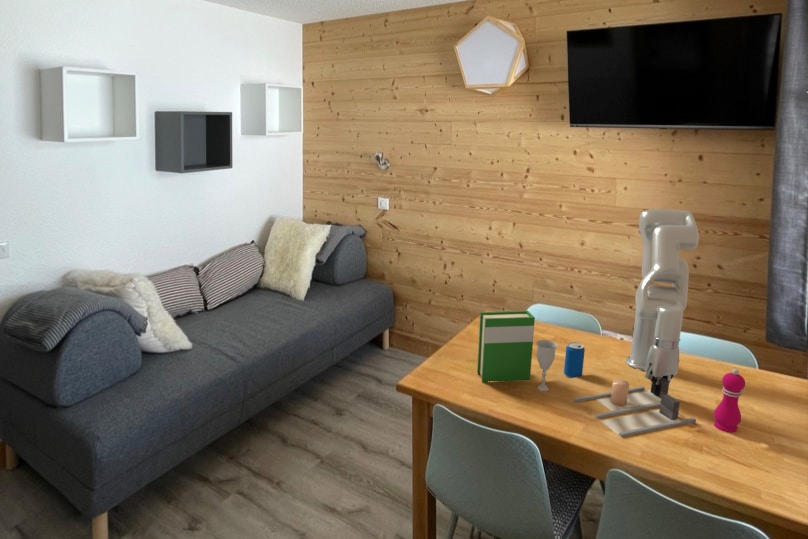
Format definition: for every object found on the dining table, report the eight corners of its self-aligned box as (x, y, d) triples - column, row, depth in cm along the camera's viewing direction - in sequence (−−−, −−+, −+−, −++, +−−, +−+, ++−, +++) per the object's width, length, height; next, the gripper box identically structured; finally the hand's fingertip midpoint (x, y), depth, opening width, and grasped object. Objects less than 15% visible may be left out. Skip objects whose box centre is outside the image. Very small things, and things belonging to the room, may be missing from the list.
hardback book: (482, 382, 198) (485, 319, 192) (477, 373, 205) (480, 312, 199) (529, 380, 200) (534, 317, 194) (523, 371, 207) (527, 310, 201)
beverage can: (582, 380, 200) (586, 349, 197) (564, 378, 201) (567, 347, 198) (580, 372, 206) (584, 342, 203) (563, 371, 208) (565, 341, 205)
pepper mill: (713, 420, 174) (723, 362, 169) (739, 428, 170) (750, 368, 165) (710, 430, 168) (720, 370, 163) (737, 438, 164) (749, 376, 159)
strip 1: (653, 390, 191) (655, 373, 190) (670, 401, 184) (673, 383, 182) (595, 400, 184) (597, 382, 182) (611, 412, 176) (613, 393, 175)
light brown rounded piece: (619, 397, 185) (621, 378, 183) (630, 404, 180) (632, 385, 179) (607, 399, 183) (609, 380, 181) (617, 406, 179) (619, 387, 177)
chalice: (529, 387, 194) (533, 339, 190) (548, 387, 195) (552, 339, 190) (536, 397, 187) (540, 348, 182) (555, 397, 188) (560, 347, 183)
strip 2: (662, 410, 178) (664, 391, 176) (681, 423, 171) (684, 403, 169) (600, 422, 170) (602, 403, 169) (617, 436, 163) (620, 416, 161)
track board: (640, 391, 192) (641, 385, 192) (696, 426, 170) (697, 419, 170) (572, 403, 183) (573, 397, 183) (622, 442, 162) (623, 435, 161)
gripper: (676, 335, 188) (669, 385, 193) (638, 341, 183) (631, 391, 188) (694, 344, 181) (686, 395, 186) (654, 349, 176) (647, 402, 181)
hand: (658, 392), depth 187 cm, fingers closed on strip 1, 2 cm apart
